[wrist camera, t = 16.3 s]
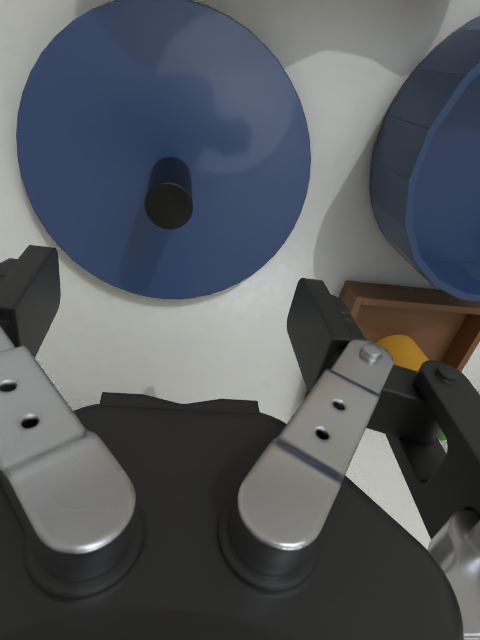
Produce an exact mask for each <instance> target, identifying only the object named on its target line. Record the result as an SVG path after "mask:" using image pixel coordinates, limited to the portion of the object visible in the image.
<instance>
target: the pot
mask: <svg viewBox="0 0 480 640" xmlns="http://www.w3.org/2000/svg"><path fill="white" fill-rule="evenodd" d="M370 193H371V203H372V207H373V210H374V214H375V217H376V220H377V222H378V224H379V227H380V229H381V231H382V233H383V234H384V235H385V237H386V238H387V239H388V240H389V242H390V243H391V244H392V245H393V246H394V247H395V249H396V250H397V251H398V252H399V253H400V254H401V255H402V256H403V257H404V258H405V259H406V260H407V261H408V262H409V263H410V264H411V265H412V266H413V267H414V268H415V269H416V270H417V271H418V272H419V273H420V274H421V275H422V276H423V277H425V278H426V279H427V280H428V281H429V282H430V283H431V284H432V285H433V286H434V287H436V288H438V289H440V290H442V291H445V292H447V293H449V294H451V295H453V296H455V297H457V298H459V299H462V300H470V301H480V16H479V17H477V18H475V19H473V20H471V21H470V22H468V23H467V24H465V25H464V26H462V27H461V28H459V29H458V30H456V31H455V32H453V33H452V34H451V35H450V36H448V37H447V38H446V39H445V40H444V41H442V42H441V43H440V44H439V45H438V46H436V47H435V48H434V49H433V50H432V51H431V52H430V54H429V55H428V56H427V57H426V58H425V59H424V60H423V61H422V62H421V63H420V64H419V65H418V66H417V68H416V69H415V70H414V71H413V73H412V74H411V75H410V77H409V78H408V79H407V80H406V82H405V83H404V85H403V86H402V88H401V90H400V91H399V93H398V94H397V96H396V97H395V99H394V101H393V103H392V105H391V107H390V109H389V111H388V113H387V115H386V116H385V119H384V121H383V124H382V126H381V129H380V132H379V134H378V137H377V141H376V144H375V148H374V152H373V157H372V163H371V170H370Z"/></svg>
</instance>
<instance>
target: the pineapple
mask: <svg viewBox="0 0 480 640" xmlns="http://www.w3.org/2000/svg"><path fill="white" fill-rule="evenodd" d="M376 344H378V345H380V346H382V347H383V348H385V349H386V350H387V351H388V352H389V353H390V354H391V355H392V357H393V360H394V364H395V365H398V366H401V367H404V368H408V369H411V370H414V371H418V370H419V368H420V367H421V365H422V363H423V362H425V361H428V360H429V359H428V358H427V357H426V356H425V354H424V353H423V352H422V350H421V349H420V348H419V347H418V345H417V344H416V343H415V342H414V340H413V339H411V338H410V337H408V336H405V335H391V336H387V337H385V338H382V339H380V340H379V341H377V342H376ZM437 438H438V439H439V440H446V437H445V435H444V434H443V432H442V431H441V432H440V434H439V435H438V437H437Z"/></svg>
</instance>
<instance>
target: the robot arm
mask: <svg viewBox="0 0 480 640" xmlns="http://www.w3.org/2000/svg"><path fill="white" fill-rule="evenodd" d="M60 294H61V292H60V277H59V262H58V253H57V250H56V248H51V247H42V246H34V245H29V246H28V247H27V248H26V250H25V251H24V252H23V254H22V255H21V256H20V257H19V259H11V258H10V259H7V260H5V261H3V262H1V263H0V640H480V395H479V393H478V392H477V391H476V389H475V388H474V387H473V385H472V384H471V383H470V381H469V380H468V379H467V378H466V376H465V375H464V374H463V373H461V372H460V371H459V370H457V369H456V368H454V367H452V366H451V365H448V364H446V363H443V362H440V361H435V360H428V361H425V362H423V363H422V365H421V367H420V368H419V370H418V371H414V370H411V369H408V368H404V367H401V366H398V365H395V364H394V360H393V357H392V355H391V354H390V353H389V352H388V351H387V350H386V349H385V348H383V347H382V346H380V345H378V344H376V343H374V342H371V341H368V340H366V339H365V337H364V335H363V334H362V332H361V330H360V328H359V327H358V325H357V323H356V322H355V321H354V318H353V317H352V315H351V314H350V312H349V310H348V308H347V307H346V305H345V304H344V303H343V302H342V301H341V300H340V299H338V298H337V297H336V296H335V295H331V294H330V293H329V291H328V289H327V287H326V286H325V284H324V282H323V281H322V280H315V279H307V278H301V279H300V280H299V282H298V284H297V287H296V291H295V294H294V297H293V301H292V304H291V307H290V311H289V314H288V318H287V332H288V335H289V338H290V341H291V344H292V346H293V349H294V352H295V355H296V358H297V361H298V364H299V367H300V370H301V373H302V376H303V379H304V381H305V384H306V387H307V390H308V393H309V394H308V395H307V397H306V398H305V399H304V401H303V402H302V404H301V405H300V407H299V408H298V409H297V411H296V412H295V414H294V415H293V416H292V418H291V419H290V421H289V422H288V424H286V423H284V422H282V421H281V420H279V419H276V418H274V417H272V416H270V415H267V414H264V413H260V412H259V407H258V401H250V400H232V399H217V400H210V401H203V402H196V403H189V404H179V403H175V402H171V401H167V400H163V399H159V398H155V397H151V396H147V395H143V394H125V393H108V392H102V396H101V400H100V404H96V405H91V406H87V407H83V408H80V409H77V410H74V411H72V409H71V408H70V407H69V405H68V404H67V402H66V401H65V400H64V398H63V397H62V395H61V394H60V393H59V391H58V390H57V388H56V387H55V386H54V384H53V383H52V382H51V380H50V379H49V377H48V376H47V375H46V373H45V372H44V370H43V369H42V368H41V366H40V365H39V364H38V362H37V361H36V359H35V356H36V354H37V352H38V350H39V348H40V346H41V344H42V342H43V340H44V338H45V336H46V334H47V332H48V330H49V328H50V325H51V323H52V321H53V319H54V317H55V315H56V313H57V311H58V308H59V304H60ZM366 428H369V429H372V430H375V431H378V432H382V433H385V434H386V437H387V439H388V441H389V444H390V446H391V448H392V451H393V453H394V455H395V458H396V460H397V462H398V464H399V467H400V469H401V471H402V474H403V476H404V478H405V481H406V483H407V485H408V487H409V490H410V492H411V494H412V497H413V499H414V501H415V504H416V506H417V508H418V511H419V513H420V515H421V517H422V520H423V522H424V524H425V527H426V529H427V531H428V534H429V536H430V538H431V541H430V543H429V546H428V550H427V549H426V548H425V547H424V546H423V545H422V544H421V543H420V542H418V541H417V540H416V539H415V538H414V537H413V536H412V535H411V534H410V533H409V532H407V531H406V530H405V529H404V528H403V527H402V526H401V525H400V524H399V523H397V522H396V521H395V520H394V519H393V518H392V517H391V516H390V515H389V514H387V513H386V512H385V511H384V510H383V509H382V508H381V507H380V506H379V505H377V504H376V503H375V502H374V501H373V500H372V499H371V498H370V497H369V496H367V495H366V494H365V493H364V492H363V491H362V490H361V489H360V488H359V487H358V486H356V485H355V484H354V483H353V482H352V481H351V480H350V479H349V478H348V477H346V476H345V474H346V471H347V469H348V467H349V465H350V462H351V460H352V458H353V456H354V453H355V451H356V449H357V447H358V445H359V442H360V440H361V438H362V436H363V433H364V431H365V429H366ZM441 431H442V432H443V434H444V435H445V437H446V440H447V444H448V450H447V454H446V453H445V451H444V449H443V447H442V445H441V444H440V442H439V440H438V438H437V437H438V435H439V434H440V432H441Z"/></svg>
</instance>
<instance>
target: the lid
mask: <svg viewBox="0 0 480 640" xmlns="http://www.w3.org/2000/svg"><path fill="white" fill-rule="evenodd" d="M16 139H17V156H18V161H19V166H20V171H21V177H22V180H23V183H24V186H25V189H26V192H27V195H28V197H29V199H30V202H31V204H32V206H33V208H34V210H35V212H36V214H37V216H38V217H39V219H40V221H41V222H42V224H43V225H44V227H45V229H46V230H47V232H48V233H49V234H50V235H51V237H52V238H53V239H54V240H55V242H56V243H57V244H58V245H59V246H60V247H61V248H62V249H63V250H64V251H65V252H66V253H67V254H68V255H69V257H70V258H71V259H73V260H74V261H75V262H76V263H78V264H79V265H80V266H81V267H83V268H84V269H85V270H87V271H88V272H90V273H91V274H93V275H94V276H96V277H98V278H99V279H101V280H103V281H105V282H107V283H109V284H111V285H113V286H115V287H118V288H120V289H123V290H126V291H128V292H131V293H135V294H139V295H143V296H147V297H155V298H162V299H184V298H195V297H200V296H205V295H210V294H213V293H216V292H219V291H222V290H225V289H227V288H229V287H231V286H233V285H236V284H238V283H240V282H241V281H243V280H245V279H246V278H248V277H249V276H251V275H252V274H254V273H255V272H256V271H258V270H259V269H260V268H261V267H263V266H264V265H265V264H266V263H267V262H268V261H269V260H270V259H271V258H272V257H273V256H274V255H275V254H276V253H277V251H278V250H279V249H280V248H281V246H282V245H283V244H284V243H285V241H286V239H287V238H288V236H289V235H290V233H291V231H292V230H293V228H294V226H295V224H296V222H297V219H298V217H299V215H300V213H301V210H302V207H303V204H304V201H305V198H306V194H307V189H308V183H309V178H310V163H311V154H310V139H309V133H308V128H307V122H306V118H305V115H304V112H303V109H302V105H301V102H300V99H299V97H298V95H297V93H296V91H295V89H294V86H293V84H292V82H291V80H290V78H289V77H288V75H287V74H286V72H285V71H284V69H283V67H282V66H281V64H280V63H279V61H278V60H277V59H276V58H275V56H274V55H273V54H272V53H271V52H270V50H269V49H268V48H267V47H266V46H265V45H264V44H263V43H262V42H261V41H260V40H259V39H258V38H257V37H256V36H255V35H253V34H252V33H251V32H250V31H249V30H248V29H247V28H245V27H244V26H242V25H241V24H239V23H238V22H236V21H235V20H233V19H232V18H230V17H229V16H227V15H225V14H223V13H221V12H219V11H217V10H215V9H213V8H211V7H209V6H206V5H203V4H200V3H197V2H193V1H190V0H115V1H112V2H110V3H107V4H104V5H102V6H99V7H97V8H94V9H92V10H90V11H89V12H87V13H85V14H84V15H82V16H80V17H79V18H77V19H75V20H74V21H72V22H71V23H70V24H69V25H68V26H66V27H65V28H64V29H63V30H62V31H61V32H59V33H58V34H57V35H56V36H55V37H54V39H53V40H52V41H51V42H50V43H49V45H48V46H47V47H46V48H45V49H44V51H43V52H42V53H41V55H40V57H39V58H38V60H37V62H36V63H35V65H34V67H33V69H32V70H31V72H30V75H29V77H28V80H27V82H26V85H25V88H24V90H23V93H22V97H21V102H20V106H19V111H18V118H17V132H16Z"/></svg>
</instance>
